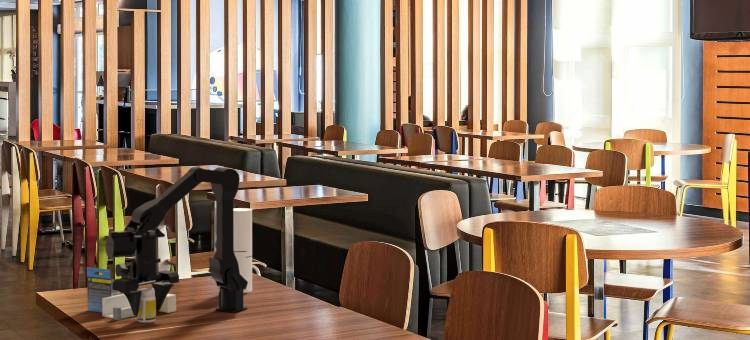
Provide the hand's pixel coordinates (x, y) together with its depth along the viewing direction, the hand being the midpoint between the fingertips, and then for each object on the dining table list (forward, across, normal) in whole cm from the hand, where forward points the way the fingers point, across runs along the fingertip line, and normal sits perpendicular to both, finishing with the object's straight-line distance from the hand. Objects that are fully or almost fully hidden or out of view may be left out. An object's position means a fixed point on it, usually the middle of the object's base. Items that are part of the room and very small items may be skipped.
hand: (146, 313), depth 280 cm
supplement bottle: (+2, 0, 0) cm, 2 cm away
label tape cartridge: (+2, -1, -18) cm, 19 cm away
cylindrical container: (+2, -46, -9) cm, 47 cm away
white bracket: (+2, -6, -9) cm, 11 cm away
